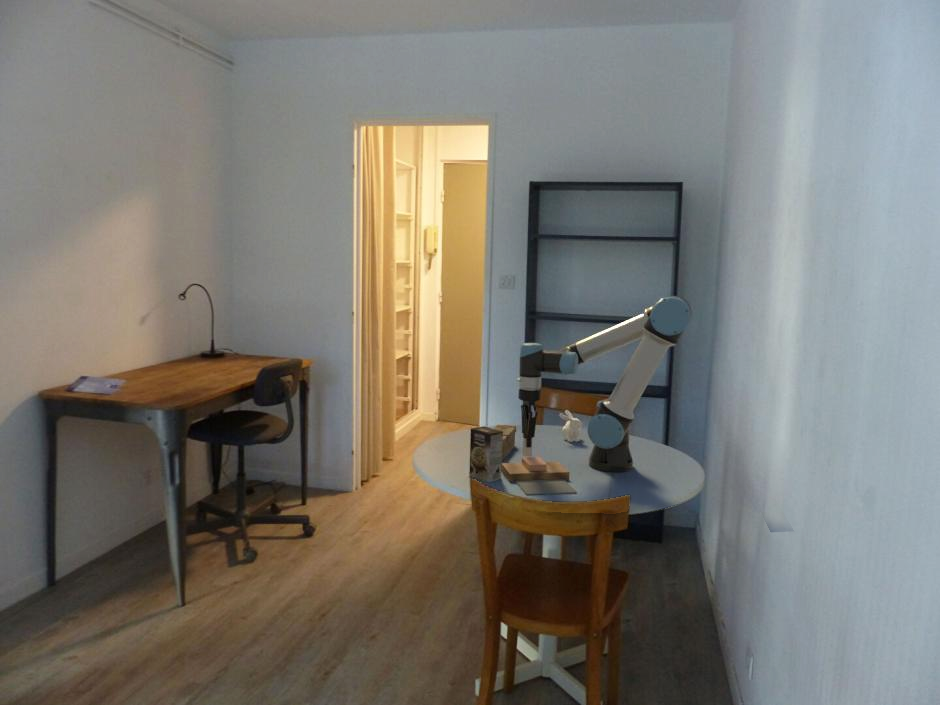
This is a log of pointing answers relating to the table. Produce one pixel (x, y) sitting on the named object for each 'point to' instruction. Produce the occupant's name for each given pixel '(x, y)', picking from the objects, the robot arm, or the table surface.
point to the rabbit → (571, 427)
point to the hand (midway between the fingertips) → (527, 455)
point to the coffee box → (486, 453)
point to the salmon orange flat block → (534, 463)
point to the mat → (545, 487)
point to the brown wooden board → (534, 472)
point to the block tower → (507, 438)
